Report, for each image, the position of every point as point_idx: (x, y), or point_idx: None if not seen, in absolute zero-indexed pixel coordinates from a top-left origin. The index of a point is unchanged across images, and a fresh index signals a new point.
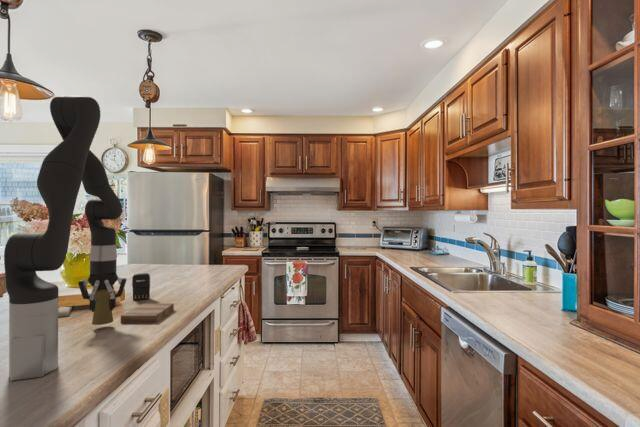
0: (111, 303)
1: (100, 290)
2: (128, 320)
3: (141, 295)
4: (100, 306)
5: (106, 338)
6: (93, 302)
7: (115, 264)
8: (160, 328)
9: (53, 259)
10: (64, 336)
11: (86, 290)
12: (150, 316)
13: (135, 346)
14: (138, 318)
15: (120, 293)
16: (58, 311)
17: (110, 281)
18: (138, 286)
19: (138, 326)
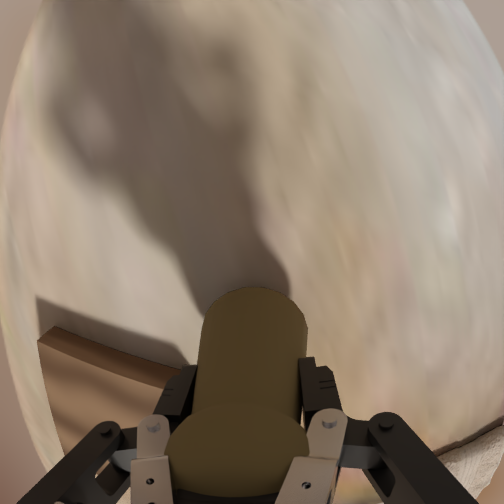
0: (177, 392)
1: (242, 480)
2: (157, 370)
3: None
4: (247, 361)
5: (178, 137)
6: (309, 400)
7: None
8: (16, 242)
9: None
10: (400, 225)
11: (389, 494)
12: (57, 347)
13: (54, 39)
14: (109, 361)
15: (92, 437)
16: (448, 468)
17: None
18: None
19: (96, 297)
